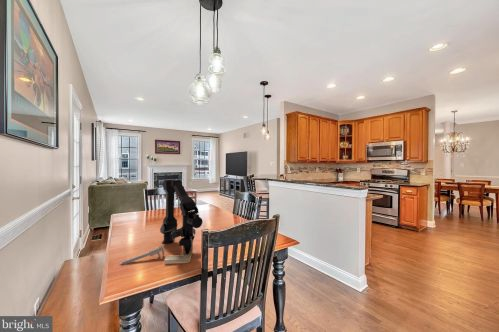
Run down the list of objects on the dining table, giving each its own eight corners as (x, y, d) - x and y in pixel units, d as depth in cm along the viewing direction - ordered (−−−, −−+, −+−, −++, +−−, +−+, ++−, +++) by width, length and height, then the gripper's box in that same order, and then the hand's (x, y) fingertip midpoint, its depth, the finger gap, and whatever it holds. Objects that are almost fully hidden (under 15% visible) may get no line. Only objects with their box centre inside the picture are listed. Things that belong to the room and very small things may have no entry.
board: (166, 259, 107) (166, 255, 107) (190, 258, 109) (190, 254, 109) (164, 264, 103) (164, 259, 103) (189, 262, 105) (189, 258, 105)
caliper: (163, 255, 112) (163, 244, 112) (164, 256, 111) (164, 245, 111) (119, 264, 102) (119, 252, 102) (119, 265, 101) (119, 253, 101)
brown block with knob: (184, 253, 115) (184, 242, 115) (192, 252, 116) (192, 241, 116) (182, 256, 111) (182, 245, 111) (191, 256, 111) (191, 245, 111)
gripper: (176, 219, 121) (176, 246, 121) (168, 230, 103) (168, 261, 103) (195, 218, 123) (195, 245, 123) (191, 229, 104) (191, 260, 104)
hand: (187, 252), depth 113 cm, fingers closed on brown block with knob, 4 cm apart
